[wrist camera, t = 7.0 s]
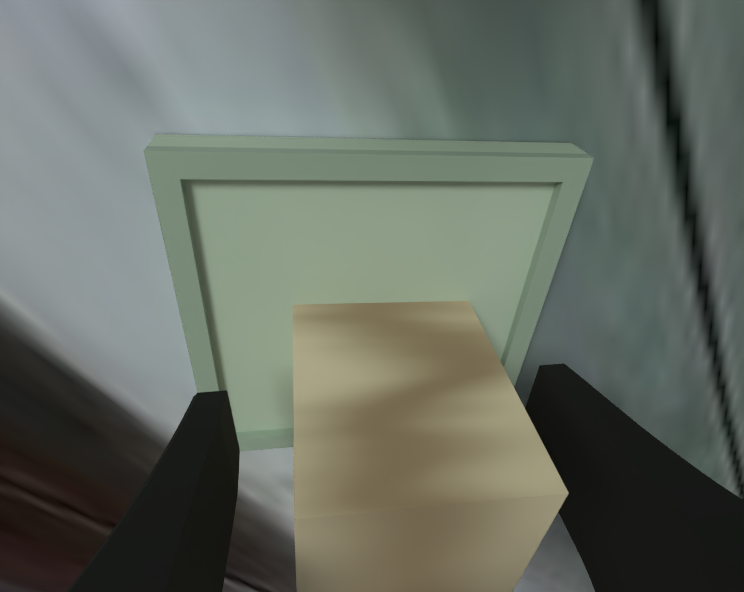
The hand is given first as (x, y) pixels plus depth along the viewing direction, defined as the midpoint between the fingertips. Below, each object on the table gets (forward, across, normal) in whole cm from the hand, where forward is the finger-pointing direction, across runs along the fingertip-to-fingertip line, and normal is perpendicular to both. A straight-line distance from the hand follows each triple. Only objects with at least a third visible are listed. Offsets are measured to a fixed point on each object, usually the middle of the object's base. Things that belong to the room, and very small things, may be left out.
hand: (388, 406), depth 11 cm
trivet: (+4, 0, 0) cm, 4 cm away
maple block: (+3, 0, +2) cm, 4 cm away
